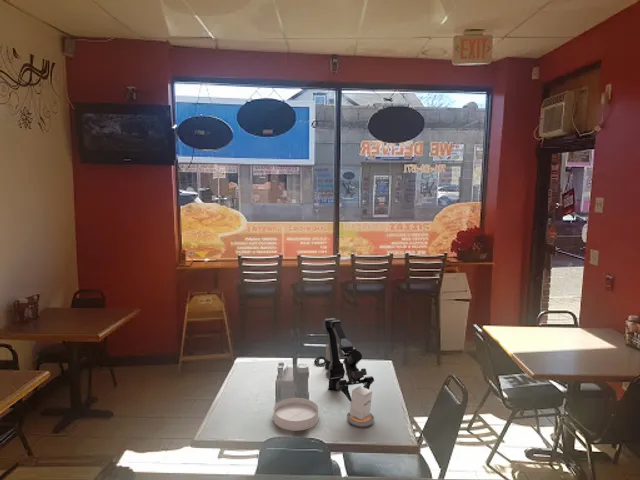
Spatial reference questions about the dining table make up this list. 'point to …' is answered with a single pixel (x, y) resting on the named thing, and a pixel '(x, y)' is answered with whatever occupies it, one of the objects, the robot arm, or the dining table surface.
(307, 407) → the dish
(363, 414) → the supplement box
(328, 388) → the robot arm
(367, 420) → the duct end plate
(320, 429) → the dining table surface
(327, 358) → the milk frother
